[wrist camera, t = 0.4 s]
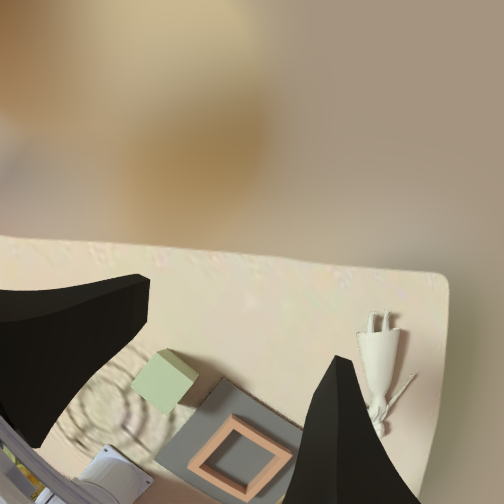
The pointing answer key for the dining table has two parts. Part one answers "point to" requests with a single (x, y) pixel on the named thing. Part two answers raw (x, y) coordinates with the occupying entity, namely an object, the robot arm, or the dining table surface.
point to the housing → (234, 449)
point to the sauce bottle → (33, 480)
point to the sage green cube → (164, 380)
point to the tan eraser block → (280, 500)
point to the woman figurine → (379, 367)
